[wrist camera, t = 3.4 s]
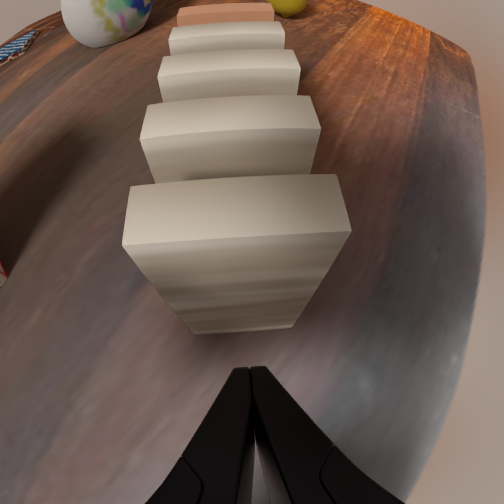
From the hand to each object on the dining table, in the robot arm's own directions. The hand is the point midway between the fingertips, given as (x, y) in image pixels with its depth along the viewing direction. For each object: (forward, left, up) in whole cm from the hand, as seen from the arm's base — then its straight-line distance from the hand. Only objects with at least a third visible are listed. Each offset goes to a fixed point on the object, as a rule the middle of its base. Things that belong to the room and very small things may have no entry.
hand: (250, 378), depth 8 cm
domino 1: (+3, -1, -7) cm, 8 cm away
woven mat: (+63, +21, -8) cm, 67 cm away
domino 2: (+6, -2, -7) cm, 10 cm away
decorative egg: (+44, 0, -7) cm, 45 cm away
